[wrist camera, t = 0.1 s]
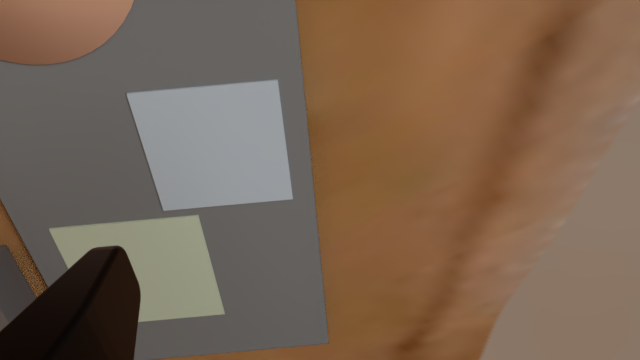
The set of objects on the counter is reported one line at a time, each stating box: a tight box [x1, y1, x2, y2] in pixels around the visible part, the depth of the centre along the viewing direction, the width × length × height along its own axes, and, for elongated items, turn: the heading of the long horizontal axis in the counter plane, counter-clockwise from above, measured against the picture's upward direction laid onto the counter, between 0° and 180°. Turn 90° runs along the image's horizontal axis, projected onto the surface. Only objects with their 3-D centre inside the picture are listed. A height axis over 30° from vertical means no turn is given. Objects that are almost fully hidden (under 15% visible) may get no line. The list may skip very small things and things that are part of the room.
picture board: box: [0, 0, 329, 360], centre depth 23 cm, size 28×14×1 cm, turn 4°
